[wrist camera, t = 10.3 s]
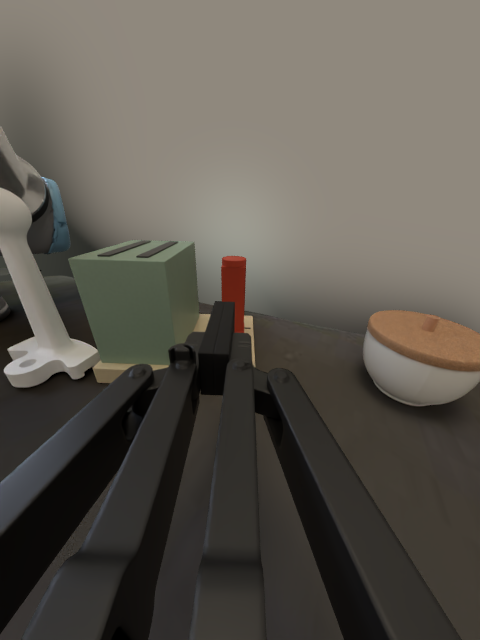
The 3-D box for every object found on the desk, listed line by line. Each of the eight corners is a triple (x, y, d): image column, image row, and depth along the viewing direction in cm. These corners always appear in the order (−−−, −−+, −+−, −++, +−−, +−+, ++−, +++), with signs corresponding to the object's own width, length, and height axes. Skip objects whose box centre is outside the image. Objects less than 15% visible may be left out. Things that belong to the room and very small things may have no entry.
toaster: (254, 389, 26) (263, 265, 19) (97, 383, 26) (53, 258, 19) (251, 324, 40) (256, 240, 33) (149, 321, 40) (134, 237, 33)
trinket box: (445, 375, 29) (483, 309, 24) (475, 444, 20) (541, 361, 16) (355, 351, 33) (373, 291, 29) (348, 399, 25) (374, 325, 20)
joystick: (110, 360, 30) (58, 187, 21) (52, 402, 23) (-59, 177, 14) (49, 345, 33) (-20, 187, 23) (-17, 378, 26) (-148, 179, 17)
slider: (244, 338, 31) (246, 261, 26) (221, 337, 31) (220, 260, 26) (244, 327, 34) (246, 256, 29) (223, 327, 34) (222, 255, 29)
